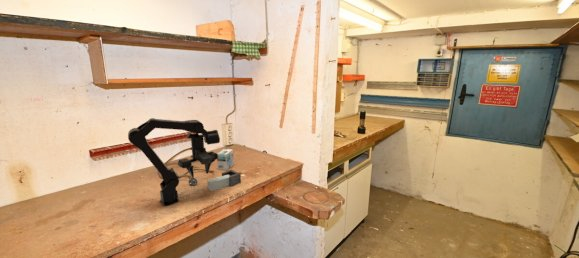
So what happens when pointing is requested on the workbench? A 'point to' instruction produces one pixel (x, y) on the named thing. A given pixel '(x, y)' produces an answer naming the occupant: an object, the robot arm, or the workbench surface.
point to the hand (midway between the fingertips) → (200, 175)
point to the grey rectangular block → (218, 182)
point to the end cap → (233, 177)
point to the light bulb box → (225, 159)
